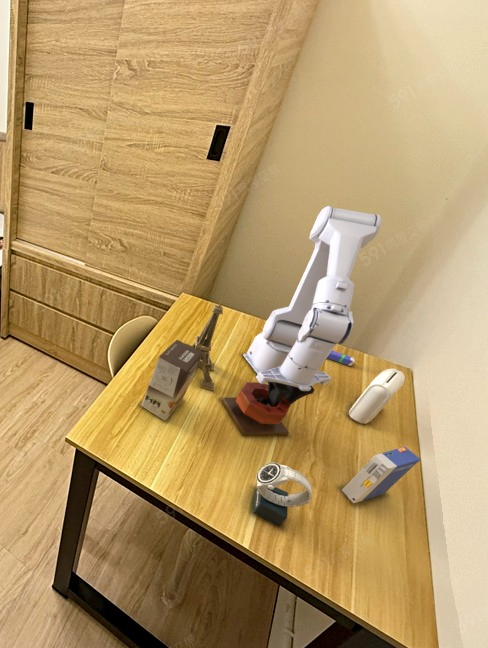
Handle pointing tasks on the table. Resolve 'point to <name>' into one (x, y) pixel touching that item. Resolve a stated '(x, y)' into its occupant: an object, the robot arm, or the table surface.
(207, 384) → the eiffel tower
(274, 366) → the robot arm
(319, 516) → the table surface
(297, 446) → the table surface
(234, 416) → the post
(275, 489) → the watch
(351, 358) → the eraser
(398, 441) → the table surface
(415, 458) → the walkman
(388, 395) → the white wireless mouse
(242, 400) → the ring
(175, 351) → the coffee box
